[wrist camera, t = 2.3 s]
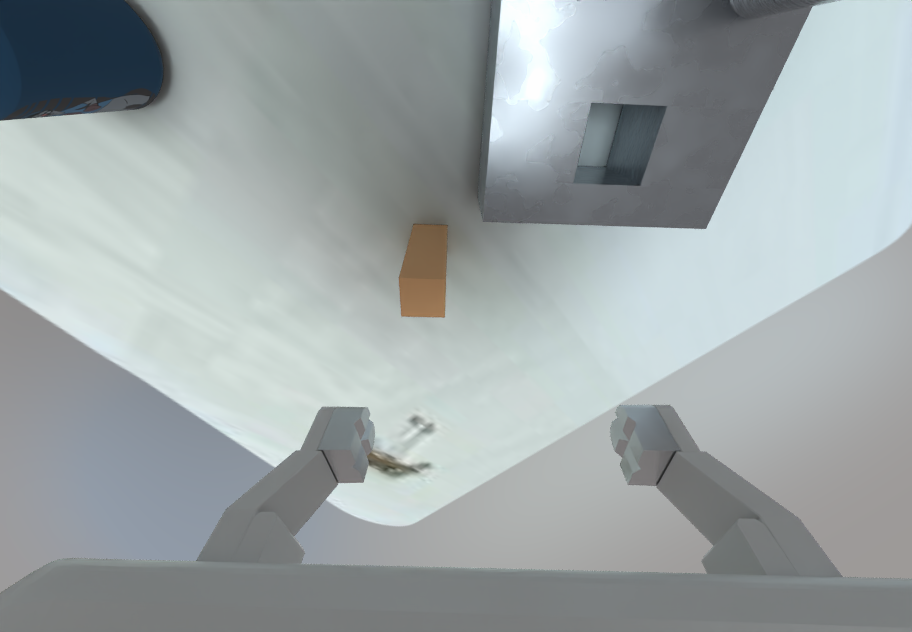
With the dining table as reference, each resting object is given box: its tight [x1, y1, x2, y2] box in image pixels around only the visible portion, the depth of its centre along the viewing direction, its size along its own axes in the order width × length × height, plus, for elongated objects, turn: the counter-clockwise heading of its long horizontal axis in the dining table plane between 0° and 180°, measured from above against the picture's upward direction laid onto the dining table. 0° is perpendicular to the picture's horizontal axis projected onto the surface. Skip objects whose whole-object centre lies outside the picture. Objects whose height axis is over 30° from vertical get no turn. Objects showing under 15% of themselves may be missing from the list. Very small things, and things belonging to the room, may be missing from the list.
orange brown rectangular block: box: [399, 224, 447, 317], centre depth 26 cm, size 3×3×10 cm
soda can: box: [0, 0, 163, 121], centre depth 18 cm, size 7×7×12 cm
